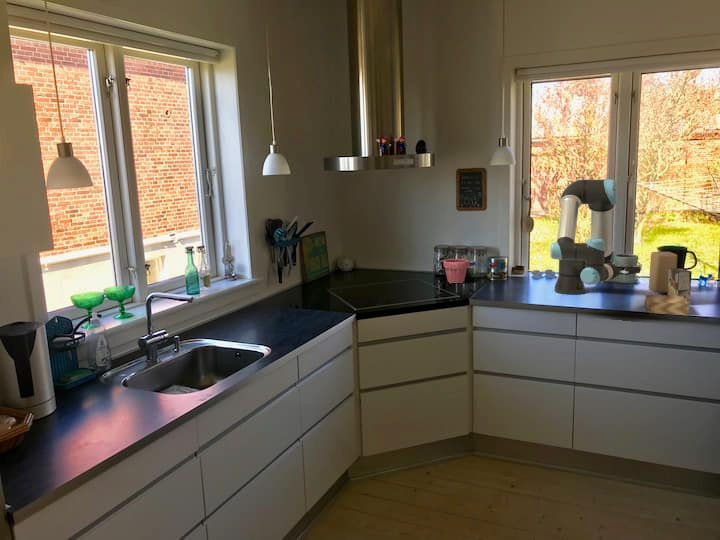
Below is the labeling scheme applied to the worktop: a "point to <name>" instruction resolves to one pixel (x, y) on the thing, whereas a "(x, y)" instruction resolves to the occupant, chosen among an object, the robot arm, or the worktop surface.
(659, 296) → the wooden box
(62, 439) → the worktop surface
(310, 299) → the worktop surface
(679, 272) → the coffee box
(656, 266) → the wooden block
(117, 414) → the worktop surface
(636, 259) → the green ceramic cup
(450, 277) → the plant pot
